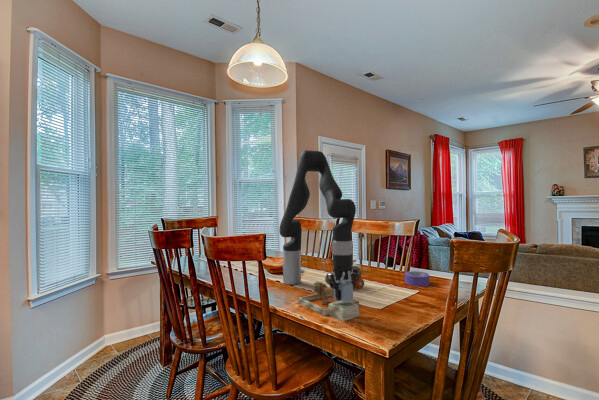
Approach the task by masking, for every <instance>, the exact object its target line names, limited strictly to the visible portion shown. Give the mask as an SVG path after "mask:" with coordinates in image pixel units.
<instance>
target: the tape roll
mask: <svg viewBox="0 0 599 400" xmlns="http://www.w3.org/2000/svg"><path fill="white" fill-rule="evenodd" d="M404 283H405V284H406V285H408V286H412V287H421V288H422V287H428V286H430V273H428V272H424V271H419V270H417V271H416V270H410V271H405V272H404Z"/></svg>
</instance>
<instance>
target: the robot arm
mask: <svg viewBox="0 0 599 400" xmlns="http://www.w3.org/2000/svg"><path fill="white" fill-rule="evenodd" d="M308 172H312V173H313V172H314V173H315V172H318V173H319V174H320V179H319V182H318V183H319V187H318V188H319V189H320V192H321V194H322V196H323V197H324V199H325V204H326V210H327V214H328V215H329V217H331V218H333V219H342V220H341V222H340V223H337V224H335V225H333V226H332V247H331V251H332V253H331V254H332V255H331V258H332V266H333V269H332V271H331V272H328V273H327V274H326V276H327V277H328V281H329V284H330V285H329V284H328V285H329V287H331V288H333V289H335V297H336V299H337V300H341V285H342V284H343V281H344V282H348V283H351V284H353V285H355V283H356V278H357V274H358V270H357V269H353V268H352V266H354V263H353V260H354V256H353V253H354V252H353V251H354V250H353V249H354V248H353V241H352V239H353V238H352V230H353V224H354V220H355V217H356V213H357V206H356V204H355V202H354V201H353V200H352V199H349V198H347V199H346V198H345V199H344V198H343V199H342V197H343V192H342V190H341V188H340V187H339V184H338V183H337V182H336V180H335V179H334V175H333V174H332V171H331V169H330V166H329V163H328V160H327V156H325V154H324V152H322V151H320V150H306V149H305V150H303V151H301V152H300V155H299V158H298V162H297V168H296V173H295V178H294V180H293V181H294V182H293V185H292V189H291V191H290V195H289V196H288V197H289V198H288V202H287V206H286V209H285V212H284V213H283V216H282V219H281V221H280V223H279V235H280V236H281V237H282V238H291V240H290V241H288V242H287V243H284V244H283V245H282V246H283V247H282V251H283V253H282V254H283V255H282V257H283V258H282V259H283V261H282V263H283V264H282V278H283V279H282V281H283V284H285V285H293V286H294V285H300V284H302V262H301V261H302V260H301V259H302V258H301V257H302V253H301V247H302V224H301V221H300V220H299V219H295V217H297V216H298V215H299V214H300V213H301V212H303V210H305V208H306V207H307V205H308V201H309V199H310V196H311V193H310V192H311V191H310V188H309V186H308V184H307V181H306V177H307V173H308ZM352 279H353V281H352ZM338 280H340V281H338ZM336 299H335V300H336ZM337 300H336V301H337Z"/></svg>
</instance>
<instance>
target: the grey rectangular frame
mask: <svg viewBox="0 0 599 400" xmlns="http://www.w3.org/2000/svg"><path fill="white" fill-rule="evenodd" d="M325 298H326V296H325ZM318 299H323V298H322V296H320V295H319V294H317V293H313V294H309V295H305V296H299V297H297V303H298V304H299V305H302V306H304V307H306V308H308V309H310V310H312V311H314V312H315V313H318V314H320V315H322V316H331V317H333V318H335V319H338V320H339V321H342V322H345V321H347V320H351V319H355V318H357V317H360V300H358V299H355V298H353V300H352V301H348V302H343V301H337V300H336V301H334V302H331V303H330V302H329V303H327V304H328V306H327V308H324V307H321V306H319V305H317V304H315V303H313V302H311V301H315V300H318Z"/></svg>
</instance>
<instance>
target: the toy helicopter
mask: <svg viewBox="0 0 599 400" xmlns="http://www.w3.org/2000/svg"><path fill="white" fill-rule="evenodd" d="M357 261H358V260H357V259H353V264H354V263H356V262H357ZM352 268H353V269H357V270H358V274H357V278H356V283H355V285H353V287H356V288H357V289H363V288H364V286H365V280H364V279H362V270H361V268H360V267H359V266H357V265H352ZM324 281H325V283H326V284H327V285H329V286H330V284H329V281H328V277H327V275H325V277H324ZM338 281H340V280H338ZM352 281H353V279H352Z"/></svg>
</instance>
